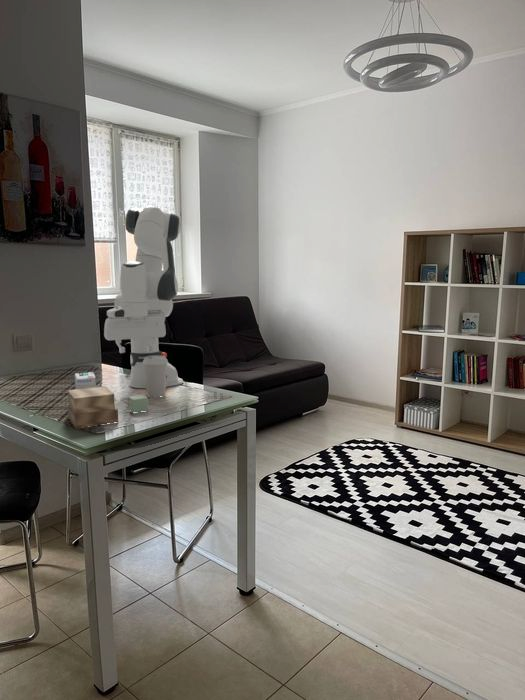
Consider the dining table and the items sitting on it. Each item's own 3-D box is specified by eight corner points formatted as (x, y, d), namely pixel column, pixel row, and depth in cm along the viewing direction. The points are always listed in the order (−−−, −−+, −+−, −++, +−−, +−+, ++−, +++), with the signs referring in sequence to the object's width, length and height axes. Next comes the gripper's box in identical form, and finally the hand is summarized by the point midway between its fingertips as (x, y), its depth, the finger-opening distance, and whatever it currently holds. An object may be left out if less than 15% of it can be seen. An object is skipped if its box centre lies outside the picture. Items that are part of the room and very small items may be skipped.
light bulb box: (75, 401, 190) (73, 373, 188) (94, 400, 193) (93, 371, 191) (77, 409, 180) (75, 378, 178) (97, 407, 183) (96, 377, 181)
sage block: (143, 408, 181) (143, 394, 180) (148, 412, 177) (147, 397, 176) (129, 410, 179) (129, 396, 178) (133, 414, 174) (132, 399, 173)
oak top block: (106, 400, 174) (105, 386, 173) (114, 409, 163) (114, 393, 162) (68, 405, 168) (67, 390, 167) (75, 414, 157) (74, 398, 157)
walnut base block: (109, 414, 175) (108, 400, 174) (118, 424, 164) (117, 409, 163) (68, 419, 169) (67, 405, 168) (75, 430, 158) (74, 414, 157)
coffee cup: (147, 392, 204) (145, 355, 201) (171, 392, 203) (170, 355, 201) (140, 398, 194) (139, 359, 192) (166, 398, 194) (164, 359, 192)
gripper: (161, 309, 180) (163, 348, 182) (101, 311, 170) (103, 352, 172) (167, 310, 174) (169, 350, 177) (106, 312, 165) (108, 355, 167)
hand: (136, 351), depth 174 cm, fingers open, 8 cm apart
